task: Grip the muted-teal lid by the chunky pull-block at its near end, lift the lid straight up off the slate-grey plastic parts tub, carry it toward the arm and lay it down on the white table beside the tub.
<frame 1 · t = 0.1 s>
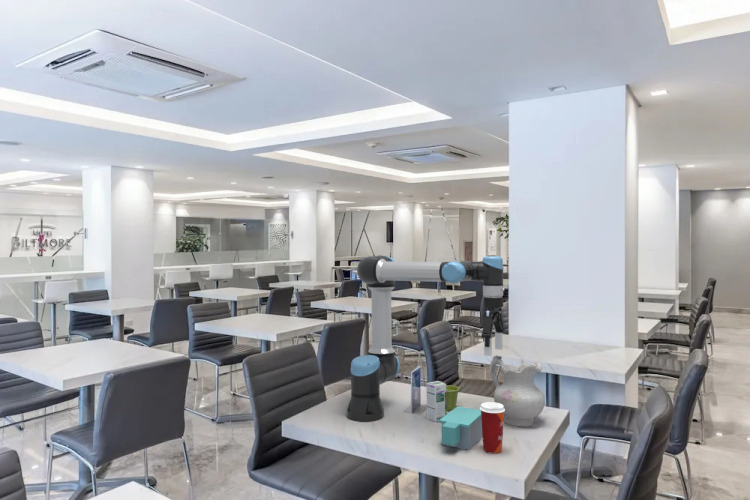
hand: (493, 352, 194), 28 cm above the table, fingers open, 13 cm apart
ceramic pitcher: (516, 421, 200), on the table
parts tub: (462, 440, 179), on the table
snap lid: (462, 417, 179), point 8 cm above the table, touching parts tub
plant pot: (448, 409, 216), on the table
coffee cup: (492, 450, 171), on the table
syrup box: (436, 419, 202), on the table
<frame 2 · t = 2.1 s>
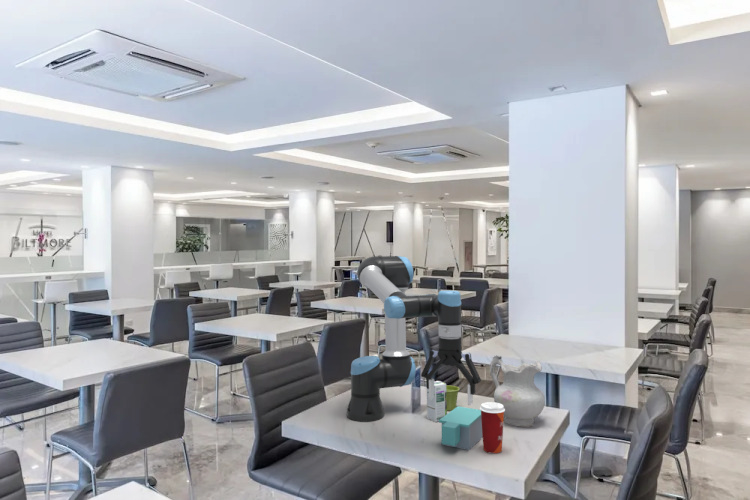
hand: (450, 401, 169), 17 cm above the table, fingers open, 13 cm apart
nothing on the table moved.
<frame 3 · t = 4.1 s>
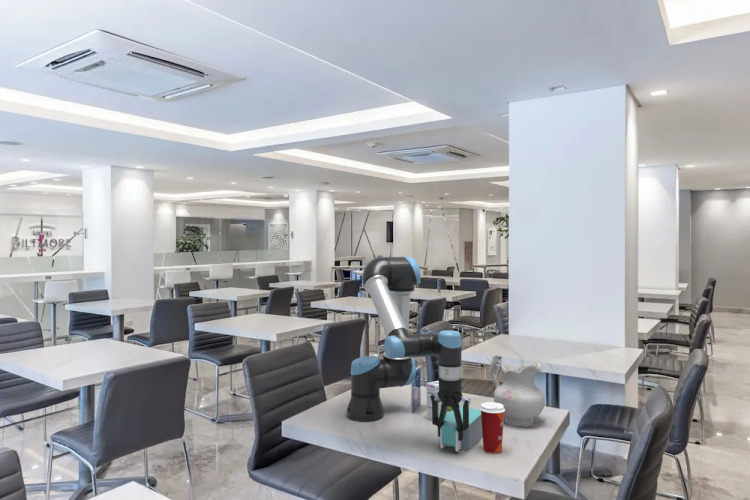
hand: (450, 448, 169), 1 cm above the table, fingers closed on snap lid, 5 cm apart
snap lid: (462, 417, 179), point 8 cm above the table, touching gripper, parts tub
everything else where it was.
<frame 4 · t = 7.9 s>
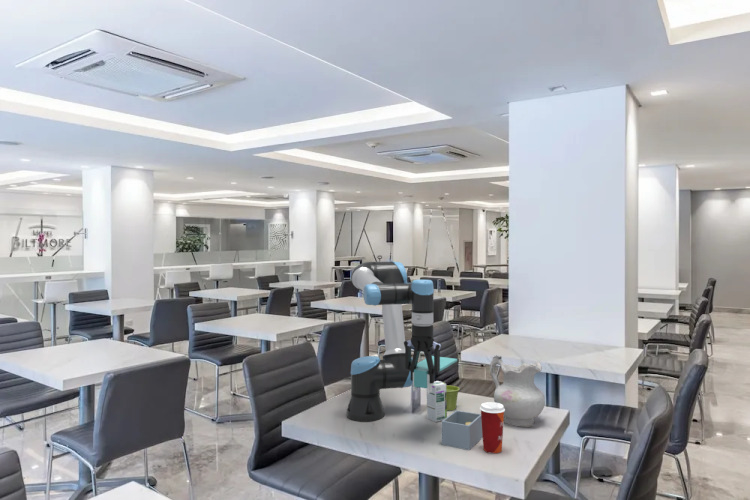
hand: (422, 391, 177), 18 cm above the table, fingers closed on snap lid, 5 cm apart
snap lid: (434, 364, 187), point 25 cm above the table, touching gripper
everything else where it was.
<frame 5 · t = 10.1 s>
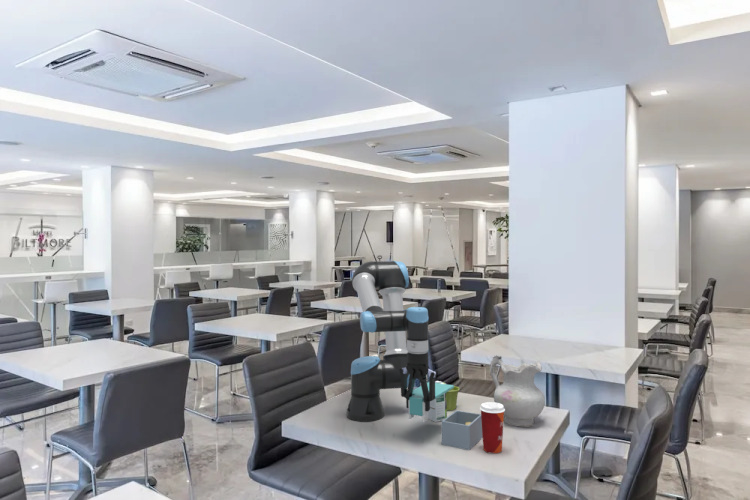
hand: (418, 418, 178), 8 cm above the table, fingers closed on snap lid, 5 cm apart
snap lid: (431, 391, 188), point 15 cm above the table, touching gripper
everything else where it was.
when the fingers open (1 cm above the table, at t = 11.8 s): snap lid drops 5 cm, point 2 cm above the table.
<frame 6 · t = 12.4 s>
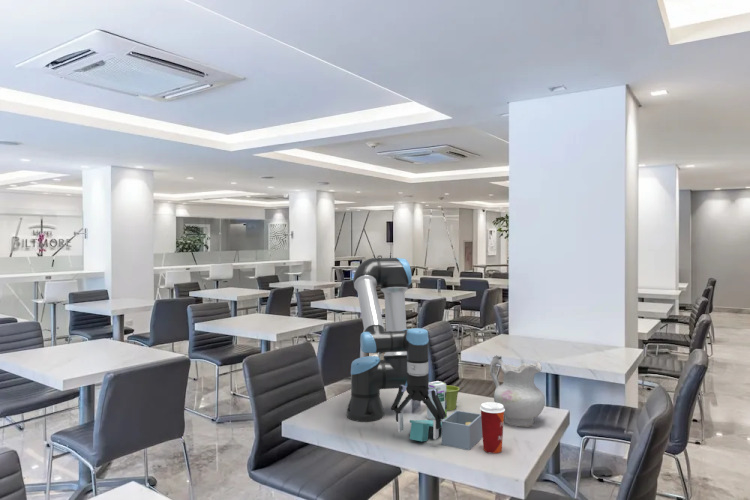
hand: (418, 434, 178), 3 cm above the table, fingers open, 13 cm apart
snap lid: (432, 424, 189), point 2 cm above the table, tilted 16°
everything else where it was.
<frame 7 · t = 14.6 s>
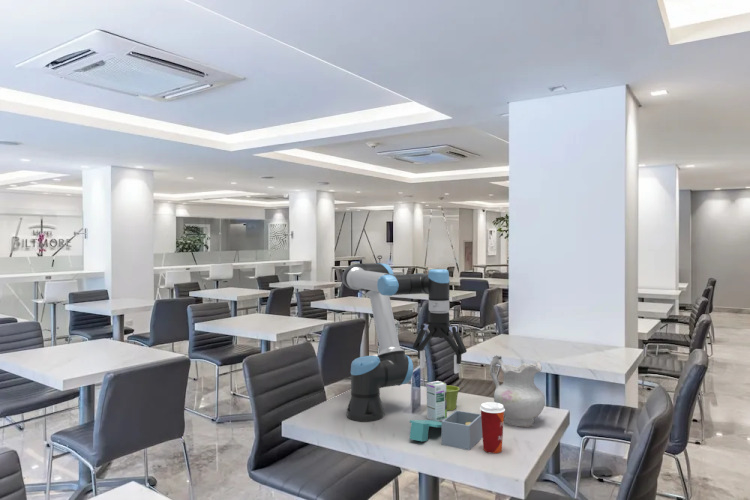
hand: (439, 370, 185), 23 cm above the table, fingers open, 13 cm apart
nothing on the table moved.
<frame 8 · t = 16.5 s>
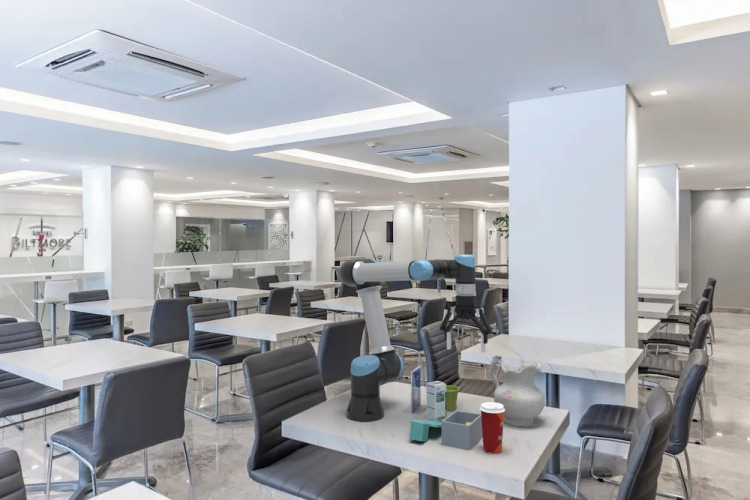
hand: (465, 350, 194), 29 cm above the table, fingers open, 13 cm apart
nothing on the table moved.
at the end: snap lid point 2.5 cm above the table; snap lid touching table; snap lid moved 14.6 cm from its start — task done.
